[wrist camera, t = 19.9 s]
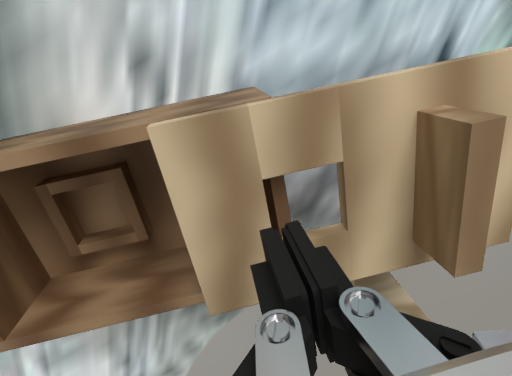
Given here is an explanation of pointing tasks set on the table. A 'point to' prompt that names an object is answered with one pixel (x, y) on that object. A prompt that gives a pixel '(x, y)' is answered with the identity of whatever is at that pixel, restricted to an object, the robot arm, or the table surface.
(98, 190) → the wooden box with slot
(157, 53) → the table surface
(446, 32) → the table surface
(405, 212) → the lid
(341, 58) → the table surface
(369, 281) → the block
